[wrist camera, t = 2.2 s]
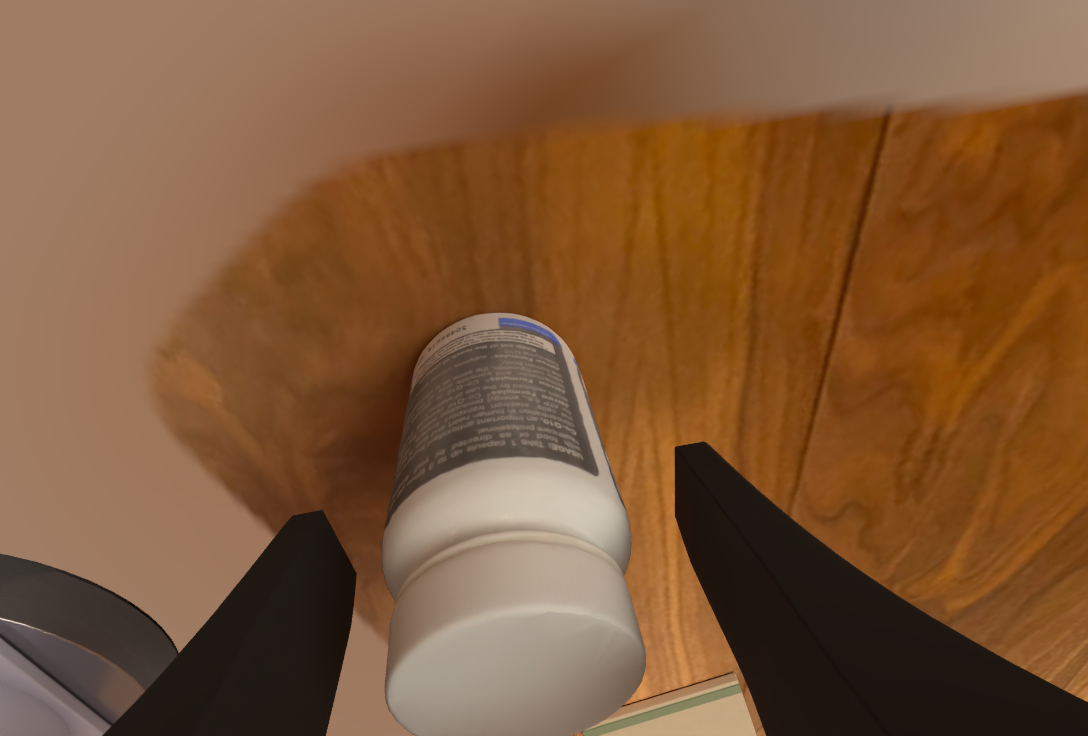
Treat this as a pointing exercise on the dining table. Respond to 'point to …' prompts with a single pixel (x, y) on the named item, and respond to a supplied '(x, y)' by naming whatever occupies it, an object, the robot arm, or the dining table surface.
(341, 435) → the dining table surface
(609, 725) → the striped square coaster
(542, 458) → the pill bottle
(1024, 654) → the dining table surface
